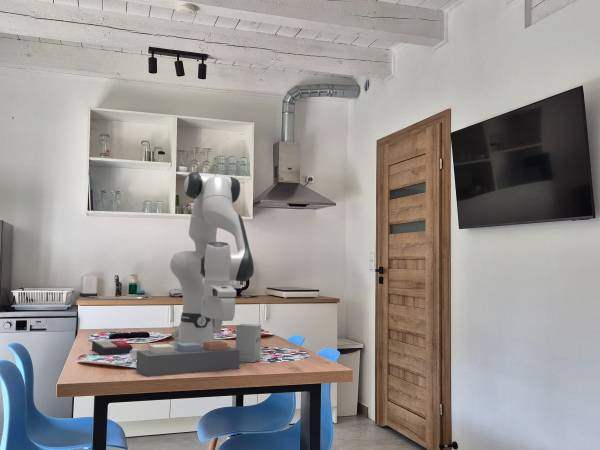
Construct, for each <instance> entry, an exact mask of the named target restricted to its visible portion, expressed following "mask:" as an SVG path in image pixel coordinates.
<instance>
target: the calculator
mask: <svg viewBox="0 0 600 450" xmlns="http://www.w3.org/2000/svg"><path fill="white" fill-rule="evenodd" d="M91 343H92V345H91V351H92V352H94V353H97V354H99V355H101V356H115V355H117V356H118V355H127V354H128V355H130V351H131V350H132V349H134V347H133V345H132V344H130V343H128V342H127V341H124V340H122V339H120V338H119V339H118V338H117V339H100V340H99V339H98V340H93V341H92V342H91ZM131 355H132V351H131Z"/></svg>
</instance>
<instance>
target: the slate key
mask: <svg viewBox="0 0 600 450" xmlns="http://www.w3.org/2000/svg"><path fill="white" fill-rule="evenodd" d="M177 350H178V351H180V352H182V353H183V352H198V351H201V345H200V344H198V343H177Z"/></svg>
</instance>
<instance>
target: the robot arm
mask: <svg viewBox="0 0 600 450" xmlns="http://www.w3.org/2000/svg"><path fill="white" fill-rule="evenodd" d="M183 189H184V193H185V195H186V196H187V198H190V199H193V204H192V205H193V206H192V208H191V215H190V221H189V222H190V223H189V228H188V236H189V238H190V239H191V240H192V241H193V243H194V246H195V247H194V248H195V251H194V250H184V251H183V250H182V251H180V252H177V253H175V254H173V255H172V256H171V259H170V263H169V268H170V271H171V273H172V274H173V275H174V276H175V277H176V278H177V279H178V281H179V284H180V288H181V291H182V312H181V315H180V323H179V324H178V325H177V327H176V329H175V330H174V331H172V332H171V337H172V338H174V341H169V342H168V344H169V345H172V346H174V348H177V343H198V344H200V345H201V347H203V342H213V341H216V340H215V334H220V333H221V328H222V325H223V322H231V321H233V320H234V319H235V315H236V314H235V313H236V311H235V310H236V299H235V298H236V297H237V290H236V289H235V288H234V287H233V286H232V282H231V281H236V282H242V283H245V282H247V281H248V280H250V279H251V278H252V277H253V276H254V272H255V263H254V259H253V257H252V253H251V250H250V244H249V240H248V236H247V232H246V227H245V223H244V220H243V217H242V216H241V214H239V213H238V212H237V211H236V210H235V209H234V206H233V204H234V203H236V202H237V201H238V199H239V197H240V195H241V183H240V181H239V179H237V178H236V177H232V176H226V175H223V174H217V173H207V172H198V171H193V172H190V173H188V174H187V176H186V178H185V179H184V183H183ZM218 229H220V230H223V231H226V232H228V233H230V234H231V235H233V237H234V239H235V240H234V241H235V243H236V249H237V252H231V247H230V244H229V243H228V242H223V241H217V231H218Z"/></svg>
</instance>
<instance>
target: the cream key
mask: <svg viewBox="0 0 600 450" xmlns="http://www.w3.org/2000/svg"><path fill="white" fill-rule="evenodd" d="M148 350H149V352H150V353H152V354H167V353H174V346H172V345H169V343H166V344H165V343H161V344H149V346H148Z"/></svg>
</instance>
